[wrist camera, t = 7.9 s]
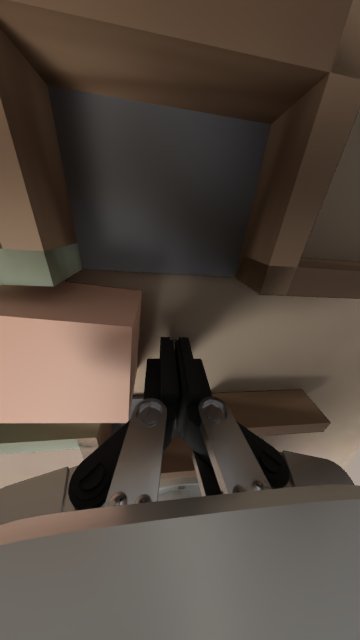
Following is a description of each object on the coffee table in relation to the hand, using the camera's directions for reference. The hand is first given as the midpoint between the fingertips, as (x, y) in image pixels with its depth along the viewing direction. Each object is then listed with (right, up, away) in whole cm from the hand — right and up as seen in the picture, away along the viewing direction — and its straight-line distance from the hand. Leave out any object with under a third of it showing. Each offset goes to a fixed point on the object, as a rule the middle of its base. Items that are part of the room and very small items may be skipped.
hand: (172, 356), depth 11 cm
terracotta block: (-5, +2, 0) cm, 5 cm away
